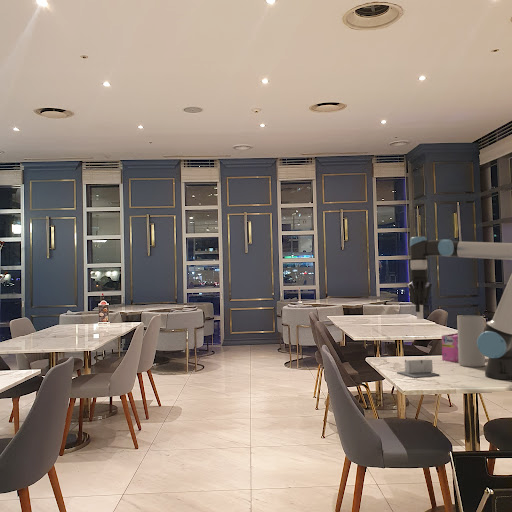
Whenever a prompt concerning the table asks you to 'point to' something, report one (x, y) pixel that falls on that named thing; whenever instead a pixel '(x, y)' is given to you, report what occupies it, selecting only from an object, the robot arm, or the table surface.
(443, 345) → the gum box
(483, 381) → the table surface
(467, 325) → the cylinder vase
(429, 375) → the mat
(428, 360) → the skincare box
